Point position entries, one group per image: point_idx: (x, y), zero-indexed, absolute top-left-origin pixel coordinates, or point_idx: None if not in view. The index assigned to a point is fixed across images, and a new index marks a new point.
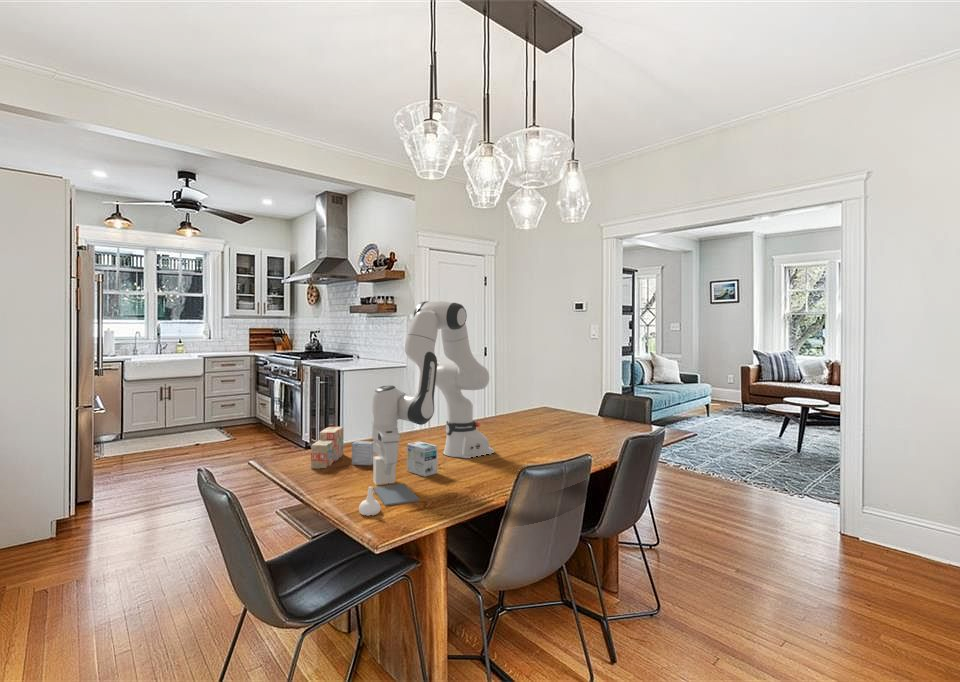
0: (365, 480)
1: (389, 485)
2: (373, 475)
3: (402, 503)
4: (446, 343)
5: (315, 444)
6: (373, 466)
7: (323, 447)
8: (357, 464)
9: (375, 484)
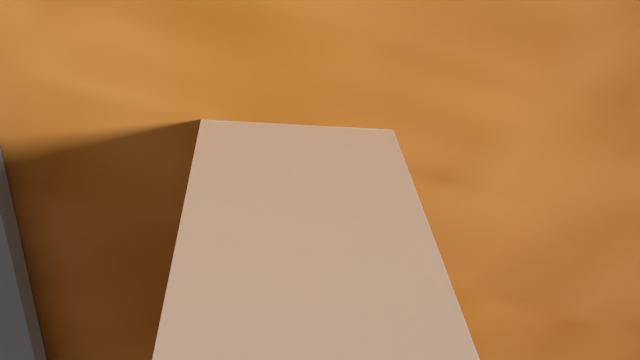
0: (538, 37)
1: (9, 274)
2: (399, 191)
3: None
4: None
5: None
6: (451, 325)
7: None
8: None
9: (230, 122)
